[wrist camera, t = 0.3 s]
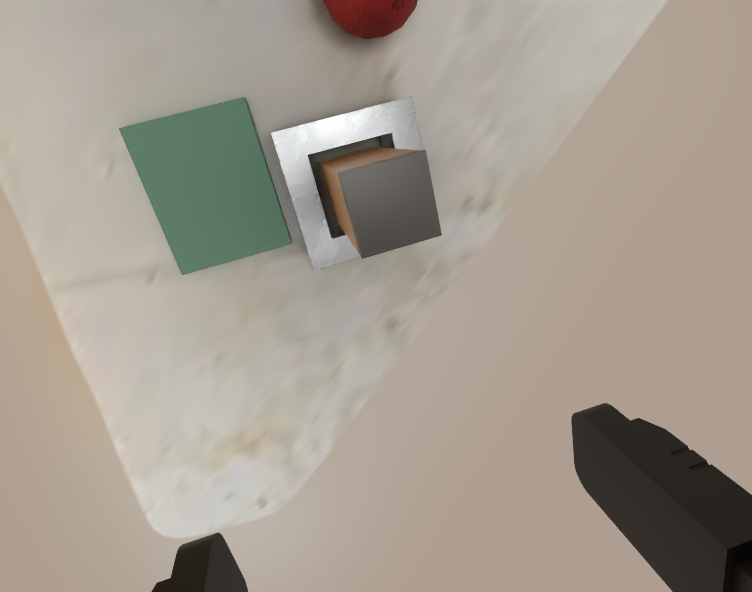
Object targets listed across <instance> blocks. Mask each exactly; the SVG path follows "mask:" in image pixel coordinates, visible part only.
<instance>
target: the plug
mask: <svg viewBox="0 0 752 592" xmlns="http://www.w3.org/2000/svg"><path fill="white" fill-rule="evenodd" d="M318 164H319V168H320V171H321V175H322V178H323V182H324V185H325V189H326V193H327V196H328V200H329V203H330V207H331V210H332V214H333V216H334V218H335V219H336V221H337V222H338V224H339V225H340V227H341V228H342V230H343V231H344V233H345V234H346V235H347V237H348V238H349V240H350V241H351V243H352V244H353V246H354V247H355V249H356V250H357V252H358V253H359V254H360V256H361V257H362V259H363V258H366V257H370V256H373V255H376V254H380V253H383V252H387V251H390V250H393V249H397V248H400V247H404V246H407V245H410V244H414V243H417V242H421V241H424V240H427V239H431V238H434V237H438V236H441V235H442V234H441V229H440V224H439V219H438V213H437V208H436V203H435V198H434V192H433V187H432V182H431V177H430V171H429V166H428V161H427V156H426V151H425V150H410V149H395V148H380V147H369V148H365V149H362V150H358V151H354V152H350V153H347V154H343V155H339V156H336V157H332V158H328V159H324V160H321V161H318Z"/></svg>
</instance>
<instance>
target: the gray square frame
mask: <svg viewBox="0 0 752 592" xmlns="http://www.w3.org/2000/svg"><path fill="white" fill-rule="evenodd" d="M271 135H272V138H273V141H274V145H275V148H276V151H277V154H278V158H279V161H280V164H281V167H282V170H283V174H284V177H285V180H286V183H287V186H288V190H289V193H290V196H291V199H292V203H293V206H294V209H295V212H296V215H297V219H298V222H299V225H300V228H301V231H302V235H303V238H304V241H305V244H306V247H307V251H308V254H309V257H310V260H311V264H312V267H313V270H314V271H315V270H318V269H322V268H325V267H328V266H332V265H335V264H339V263H342V262H345V261H349V260H352V259H356V258H359V257H361V256H360V254H359V253H358V252H357V250H356V249H355V247H354V246H353V244H352V243H351V241H350V240H349V238H348V237H347V235H346V234H345V233H344V231H343V230H342V228H341V227H340V225H335V226H332V227H328V225H327V221H326V218H325V214H324V211H323V207H322V204H321V200H320V197H319V193H318V190H317V186H316V183H315V179H314V176H313V172H312V169H311V165H310V162H309V158H308V155H309V154H313V153H317V152H320V151H324V150H328V149H332V148H335V147H339V146H343V145H347V144H350V143H354V142H358V141H362V140H365V139H369V138H373V137H377V136H380V141H381V145H382V148H395V149H410V150H422V145H421V140H420V134H419V129H418V124H417V119H416V114H415V108H414V103H413V98H412V96H411V97H407V98H403V99H399V100H396V101H392V102H388V103H384V104H380V105H376V106H372V107H369V108H365V109H361V110H357V111H353V112H349V113H345V114H341V115H338V116H334V117H330V118H326V119H322V120H318V121H314V122H311V123H307V124H303V125H299V126H295V127H291V128H287V129H284V130H280V131H276V132H272V133H271Z"/></svg>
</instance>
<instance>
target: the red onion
mask: <svg viewBox="0 0 752 592" xmlns="http://www.w3.org/2000/svg"><path fill="white" fill-rule="evenodd" d="M323 1H324V3H325V5H326V7H327V9H328V11H329V13H330V14H331V16H332V18H333V20H334V21H335V22H337V23H338V24H339V25H340V26H341V27H342V28H343V29H344V30H345V31H346V32H347V33H350V34H353V35H356V36H359V37H362V38H365V39H370V38H378V37H384V36H387V35H388V34H390V33H392V32H394V31H395V30H397V29H399V28H401V27H402V26H403V24H404V23H405V22H406V20H407V19H408V18H409V16H410V15H411V13H412V12H413V11H414V9H415V7H416V5H417V1H418V0H323Z"/></svg>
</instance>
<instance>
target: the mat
mask: <svg viewBox="0 0 752 592" xmlns="http://www.w3.org/2000/svg"><path fill="white" fill-rule="evenodd" d="M119 130H120V132H121V135H122V137H123V139H124V141H125V144H126V146H127V148H128V151H129V153H130V155H131V158H132V160H133V162H134V165H135V167H136V169H137V172H138V174H139V176H140V179H141V181H142V183H143V186H144V188H145V190H146V193H147V195H148V197H149V199H150V202H151V204H152V206H153V209H154V211H155V213H156V216H157V218H158V220H159V223H160V225H161V227H162V230H163V232H164V234H165V237H166V239H167V241H168V244H169V246H170V248H171V251H172V253H173V255H174V257H175V260H176V262H177V264H178V267H179V269H180V271H181V274H182V275H184V274H188V273H191V272H195V271H198V270H202V269H205V268H209V267H212V266H216V265H219V264H223V263H226V262H230V261H233V260H237V259H240V258H244V257H247V256H251V255H254V254H258V253H261V252H265V251H268V250H272V249H275V248H279V247H282V246H286V245H289V244H292V242H291V239H290V236H289V232H288V229H287V226H286V223H285V220H284V217H283V214H282V211H281V208H280V205H279V201H278V198H277V195H276V192H275V189H274V186H273V183H272V180H271V177H270V174H269V170H268V167H267V164H266V161H265V158H264V155H263V152H262V149H261V146H260V143H259V140H258V136H257V133H256V130H255V127H254V124H253V121H252V118H251V115H250V112H249V109H248V105H247V102H246V99H245V98H240V99H236V100H232V101H228V102H224V103H220V104H216V105H212V106H208V107H204V108H200V109H196V110H192V111H188V112H184V113H180V114H176V115H172V116H168V117H164V118H160V119H156V120H152V121H148V122H144V123H140V124H136V125H132V126H128V127H124V128H120V129H119Z"/></svg>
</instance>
